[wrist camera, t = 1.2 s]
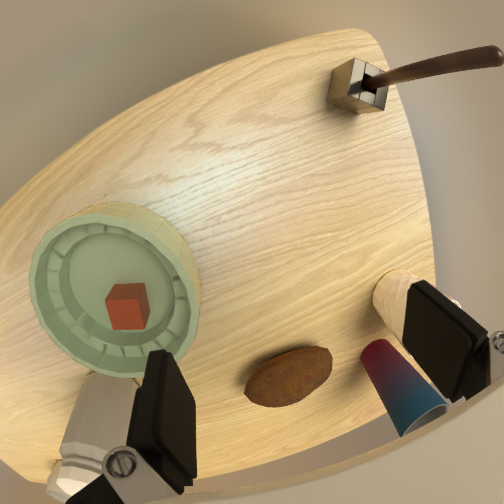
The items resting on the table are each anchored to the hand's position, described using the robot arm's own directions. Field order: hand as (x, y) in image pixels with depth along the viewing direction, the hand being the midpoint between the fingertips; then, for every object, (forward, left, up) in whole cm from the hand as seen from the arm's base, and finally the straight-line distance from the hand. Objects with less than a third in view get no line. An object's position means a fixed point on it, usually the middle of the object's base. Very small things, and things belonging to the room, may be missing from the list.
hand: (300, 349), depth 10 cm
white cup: (+21, -5, -21) cm, 30 cm away
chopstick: (+7, +16, -20) cm, 27 cm away
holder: (+7, +16, -20) cm, 27 cm away
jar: (-13, -27, -21) cm, 36 cm away
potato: (+9, -17, -21) cm, 29 cm away
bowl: (-12, -9, -20) cm, 25 cm away
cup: (+23, -15, -21) cm, 35 cm away
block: (-10, -11, -20) cm, 25 cm away
